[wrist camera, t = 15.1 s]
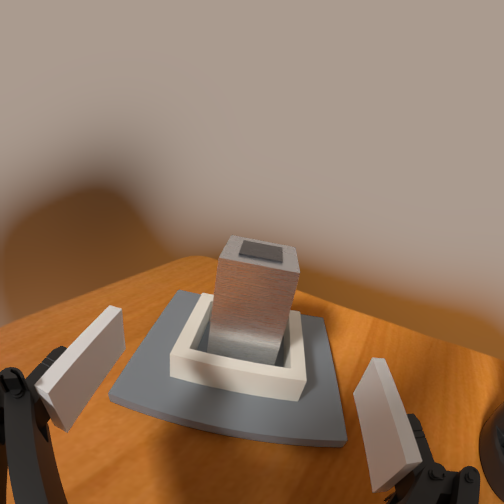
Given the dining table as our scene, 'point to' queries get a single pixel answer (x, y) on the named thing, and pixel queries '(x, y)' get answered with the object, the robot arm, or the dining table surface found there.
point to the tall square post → (252, 299)
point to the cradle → (235, 380)
